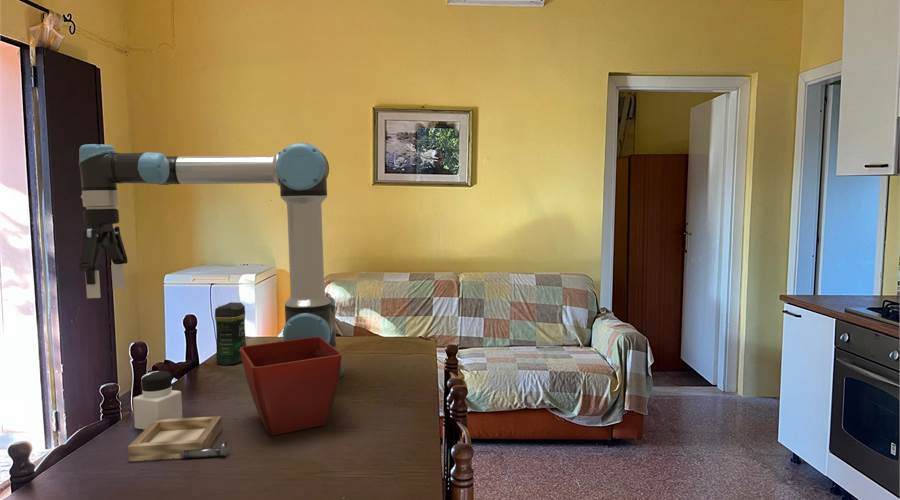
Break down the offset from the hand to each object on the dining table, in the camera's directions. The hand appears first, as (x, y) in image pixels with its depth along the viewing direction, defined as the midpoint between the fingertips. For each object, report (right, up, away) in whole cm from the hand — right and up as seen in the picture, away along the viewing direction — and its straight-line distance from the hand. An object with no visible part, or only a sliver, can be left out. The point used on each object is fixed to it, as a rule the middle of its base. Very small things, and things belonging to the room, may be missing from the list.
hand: (107, 293), depth 145 cm
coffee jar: (+17, -25, +38) cm, 48 cm away
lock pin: (+37, -30, -30) cm, 56 cm away
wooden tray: (+29, -30, -24) cm, 48 cm away
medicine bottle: (+19, -29, -13) cm, 37 cm away
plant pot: (+50, -29, -12) cm, 59 cm away
